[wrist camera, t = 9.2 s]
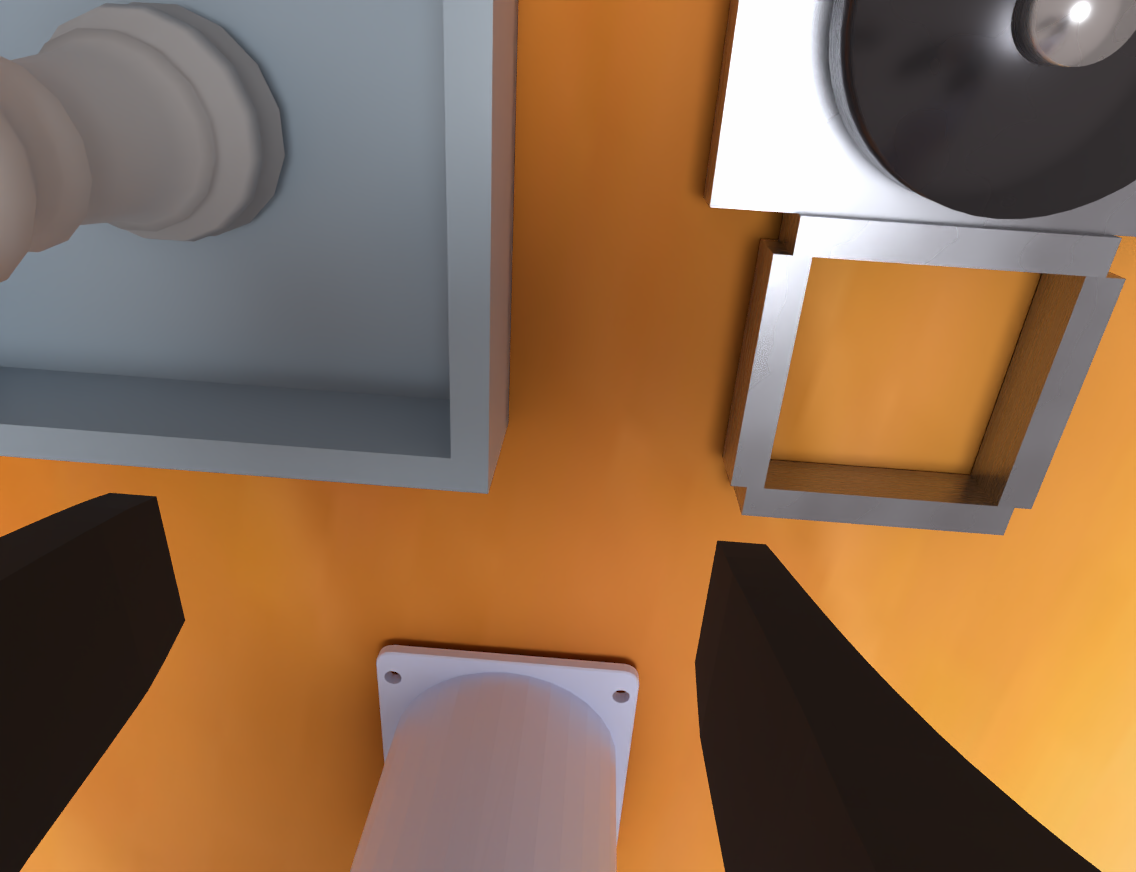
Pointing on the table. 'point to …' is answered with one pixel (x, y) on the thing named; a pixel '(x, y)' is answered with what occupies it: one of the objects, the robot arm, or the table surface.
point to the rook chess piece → (134, 131)
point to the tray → (298, 269)
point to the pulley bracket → (927, 212)
